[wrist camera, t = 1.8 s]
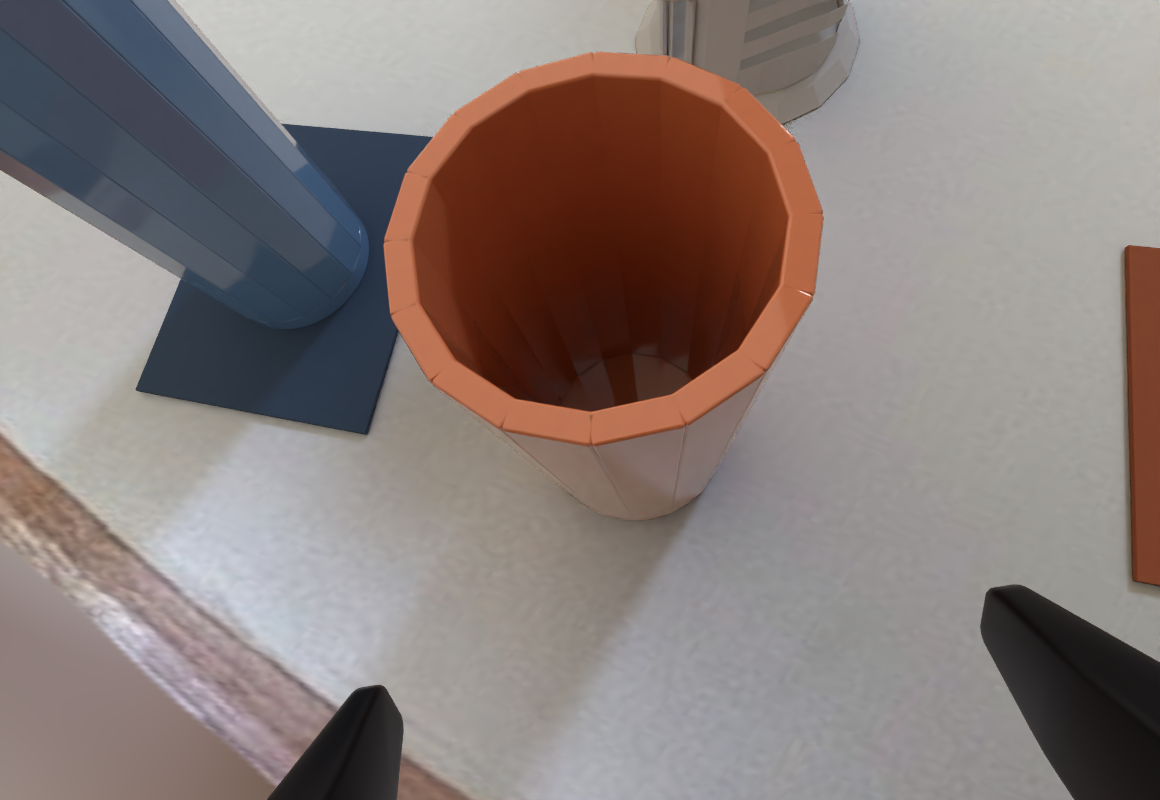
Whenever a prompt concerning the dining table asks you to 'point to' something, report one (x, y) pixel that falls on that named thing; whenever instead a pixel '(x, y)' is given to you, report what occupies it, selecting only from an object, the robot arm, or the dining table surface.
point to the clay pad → (1144, 407)
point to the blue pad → (312, 353)
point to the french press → (760, 46)
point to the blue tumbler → (173, 156)
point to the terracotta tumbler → (607, 269)
